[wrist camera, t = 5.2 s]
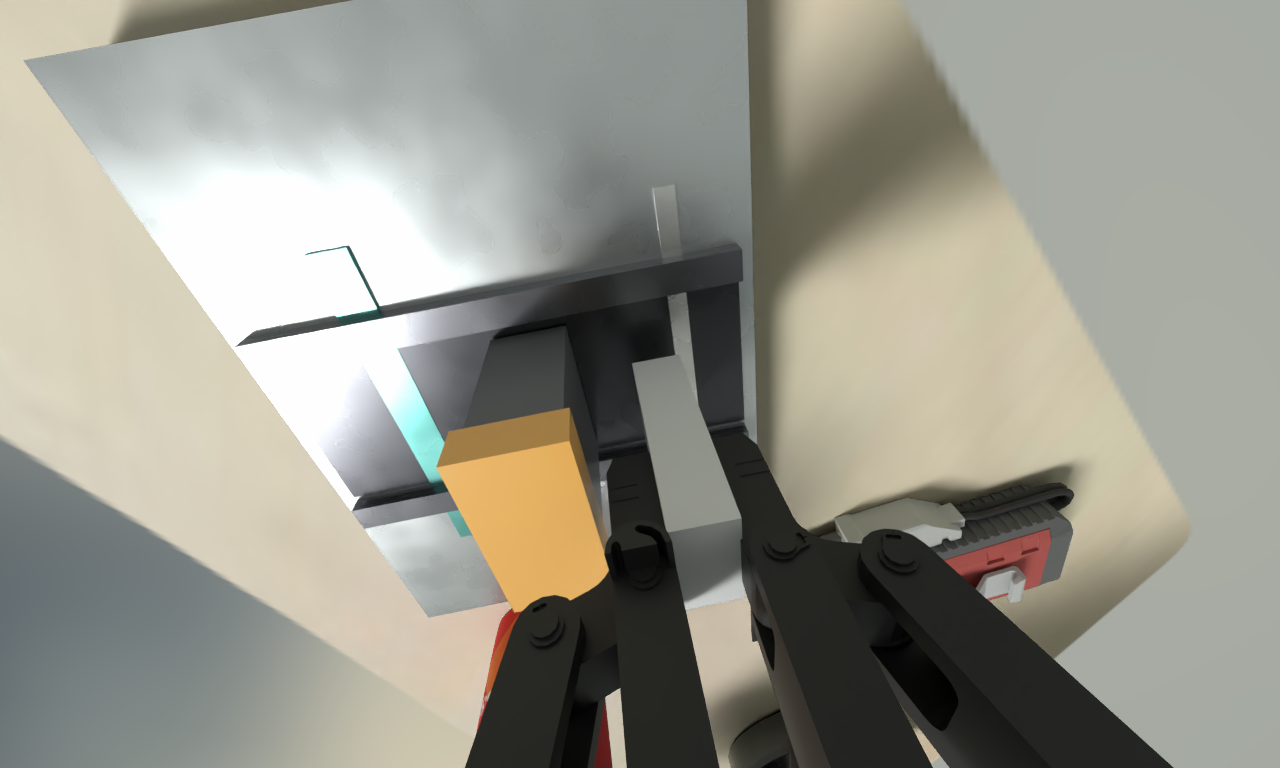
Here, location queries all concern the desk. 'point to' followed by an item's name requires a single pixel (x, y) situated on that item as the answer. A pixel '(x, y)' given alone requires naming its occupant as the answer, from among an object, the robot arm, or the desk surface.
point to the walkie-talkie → (982, 535)
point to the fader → (530, 470)
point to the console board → (443, 220)
